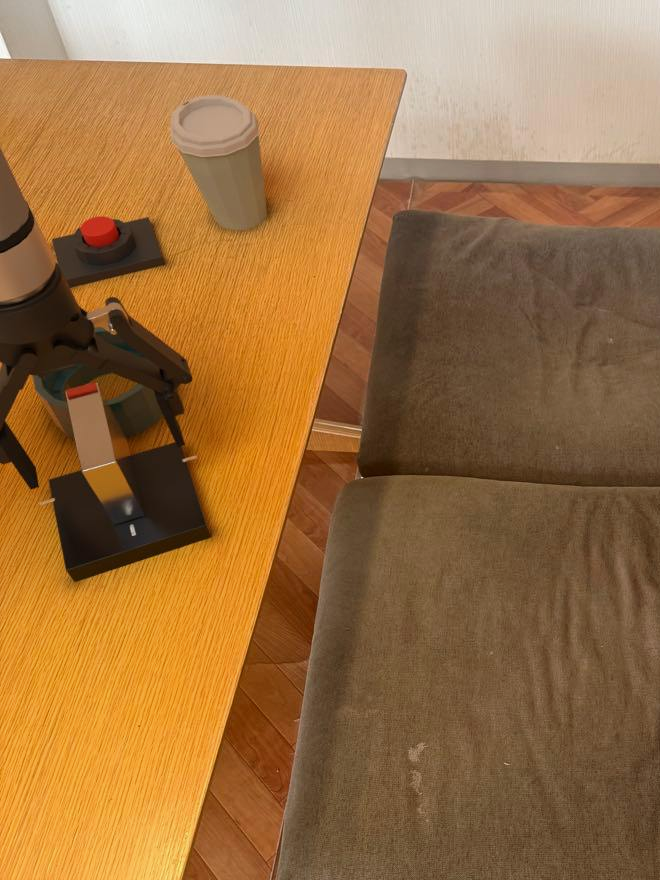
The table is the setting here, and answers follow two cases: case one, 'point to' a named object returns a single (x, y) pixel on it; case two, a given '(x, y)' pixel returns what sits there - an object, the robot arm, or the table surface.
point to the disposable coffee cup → (222, 157)
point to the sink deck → (159, 531)
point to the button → (99, 231)
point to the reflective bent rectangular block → (104, 453)
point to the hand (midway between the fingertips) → (107, 457)
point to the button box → (108, 254)
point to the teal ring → (129, 408)
